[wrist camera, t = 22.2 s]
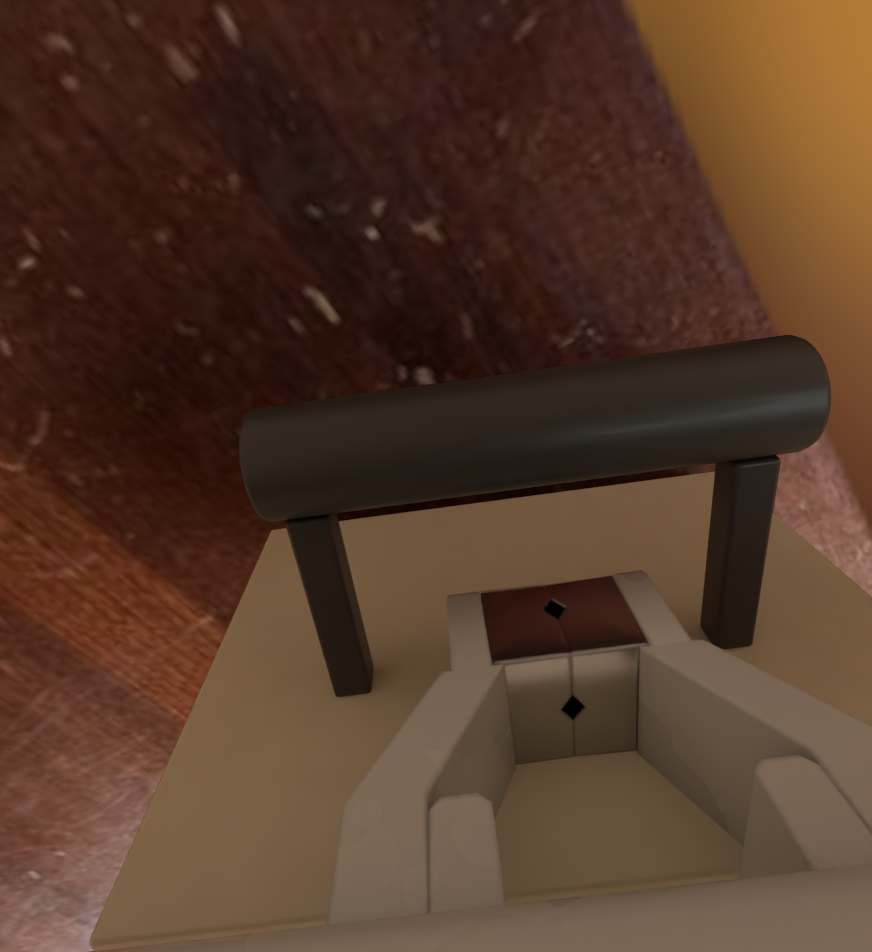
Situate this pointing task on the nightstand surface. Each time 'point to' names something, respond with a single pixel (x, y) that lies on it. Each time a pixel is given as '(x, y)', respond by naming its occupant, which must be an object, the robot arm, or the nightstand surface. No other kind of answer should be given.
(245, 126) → the nightstand surface
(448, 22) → the nightstand surface
